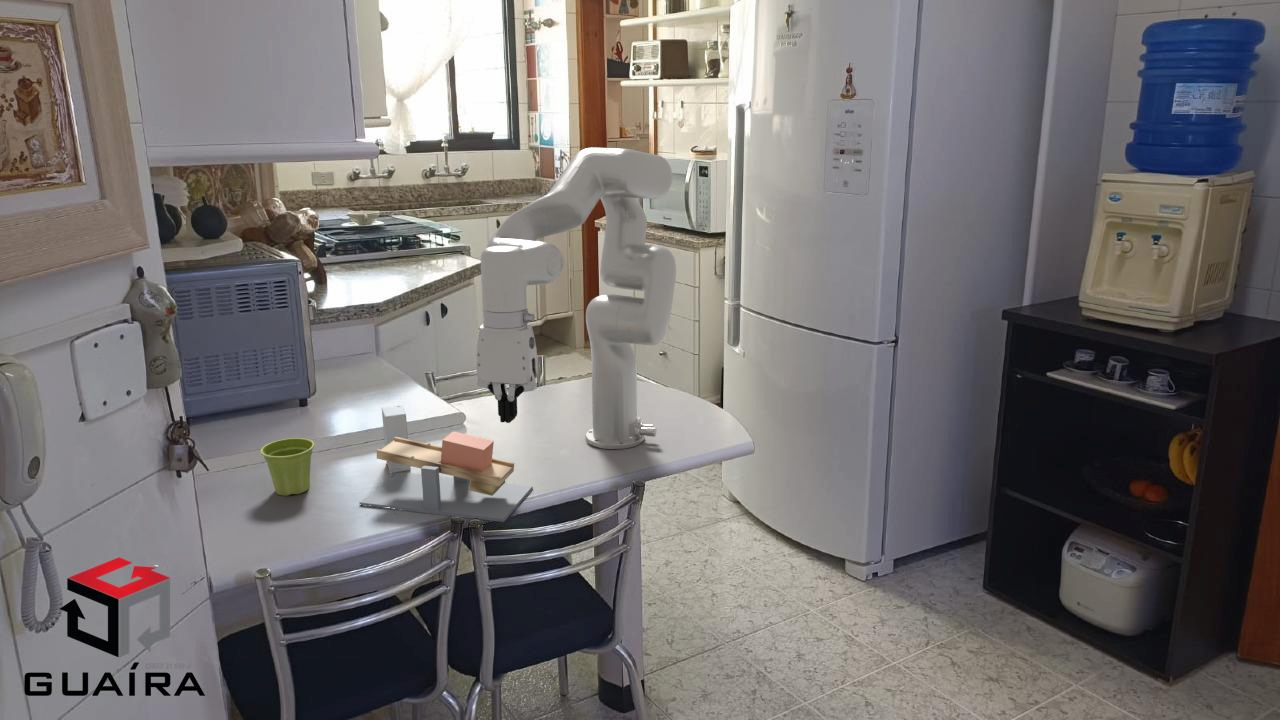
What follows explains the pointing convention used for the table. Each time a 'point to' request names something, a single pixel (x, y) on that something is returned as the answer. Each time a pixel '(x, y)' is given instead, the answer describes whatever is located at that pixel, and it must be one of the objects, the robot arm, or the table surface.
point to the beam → (431, 456)
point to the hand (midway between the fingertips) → (508, 420)
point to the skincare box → (395, 431)
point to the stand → (446, 496)
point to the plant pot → (289, 464)
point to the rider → (467, 451)
